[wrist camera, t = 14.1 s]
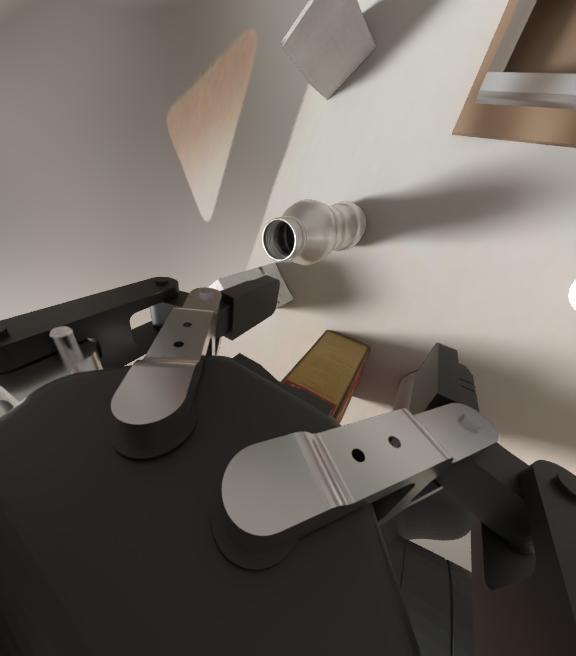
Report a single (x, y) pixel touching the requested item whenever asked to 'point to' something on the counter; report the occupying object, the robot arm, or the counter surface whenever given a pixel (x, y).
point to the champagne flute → (572, 295)
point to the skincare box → (253, 274)
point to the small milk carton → (328, 43)
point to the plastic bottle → (313, 231)
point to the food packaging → (330, 370)
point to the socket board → (527, 77)
